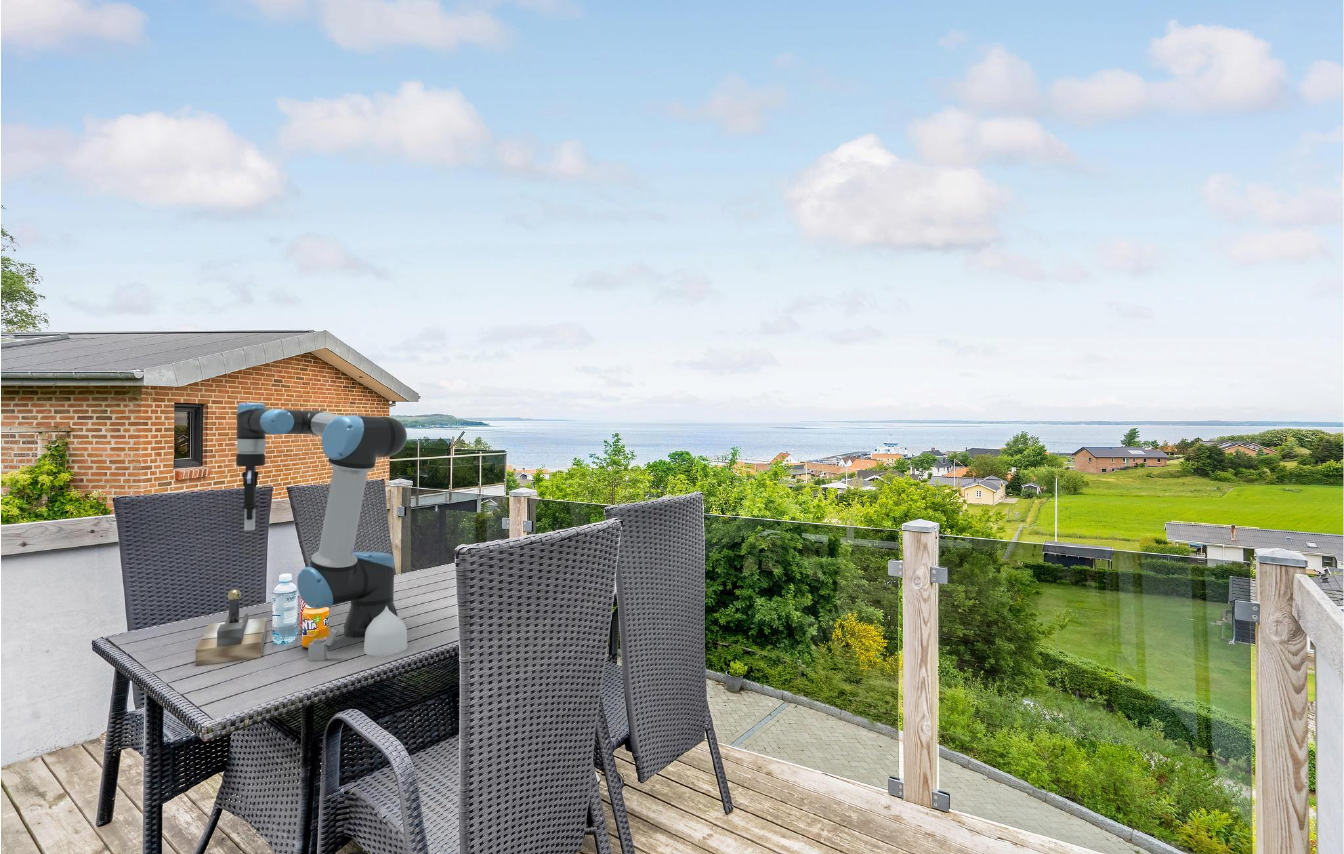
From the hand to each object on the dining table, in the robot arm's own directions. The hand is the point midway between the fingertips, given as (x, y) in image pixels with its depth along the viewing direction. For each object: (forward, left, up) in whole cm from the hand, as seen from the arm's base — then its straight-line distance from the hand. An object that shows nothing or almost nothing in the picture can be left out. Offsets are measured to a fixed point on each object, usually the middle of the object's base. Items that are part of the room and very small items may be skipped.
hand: (249, 529), depth 202 cm
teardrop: (-8, +56, -29) cm, 63 cm away
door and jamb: (+14, +21, -28) cm, 38 cm away
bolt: (+16, +25, -24) cm, 38 cm away
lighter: (+6, +50, -29) cm, 58 cm away
